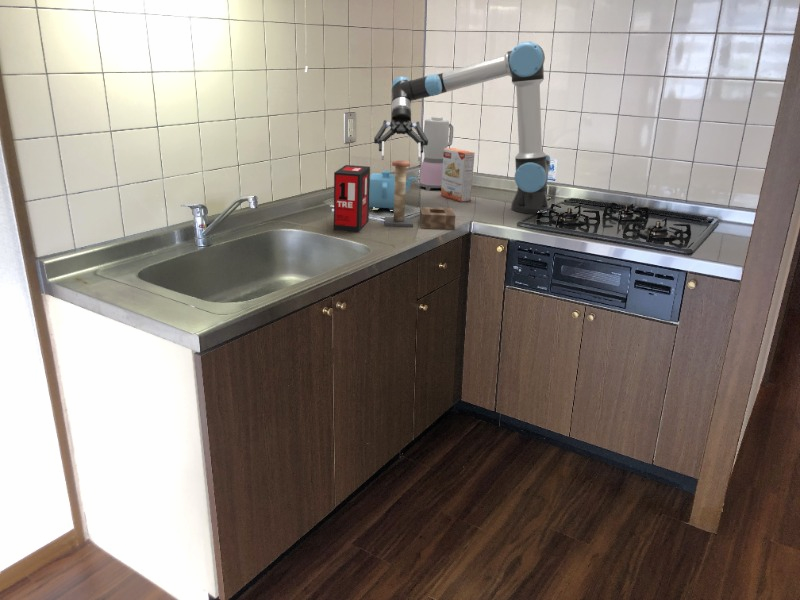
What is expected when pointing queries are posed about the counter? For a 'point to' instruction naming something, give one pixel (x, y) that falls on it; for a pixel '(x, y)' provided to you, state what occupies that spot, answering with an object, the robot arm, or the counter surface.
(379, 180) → the teakettle
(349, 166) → the cleaning product box
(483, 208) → the counter surface
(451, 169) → the cracker box
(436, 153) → the blender
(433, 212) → the eye block
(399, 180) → the wheel peg
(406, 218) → the rubber mat
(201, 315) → the counter surface
